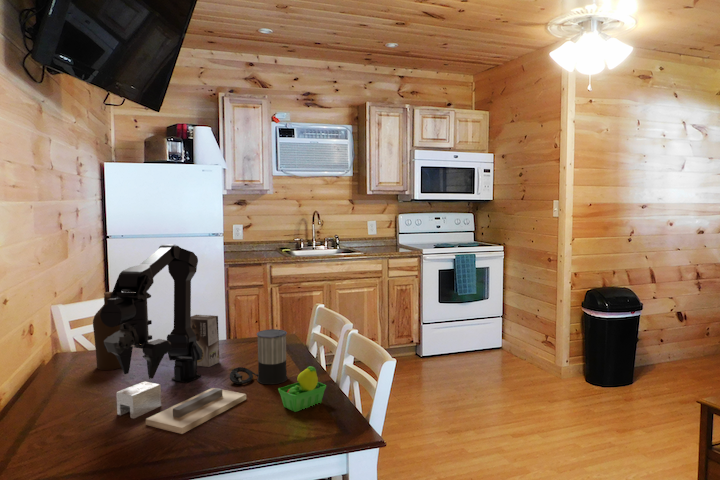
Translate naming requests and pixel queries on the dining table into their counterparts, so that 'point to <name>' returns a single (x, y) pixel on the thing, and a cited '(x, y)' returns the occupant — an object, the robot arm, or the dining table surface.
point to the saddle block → (139, 399)
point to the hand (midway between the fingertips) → (138, 376)
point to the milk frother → (267, 359)
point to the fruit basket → (303, 391)
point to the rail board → (195, 410)
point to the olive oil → (100, 334)
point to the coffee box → (206, 338)
